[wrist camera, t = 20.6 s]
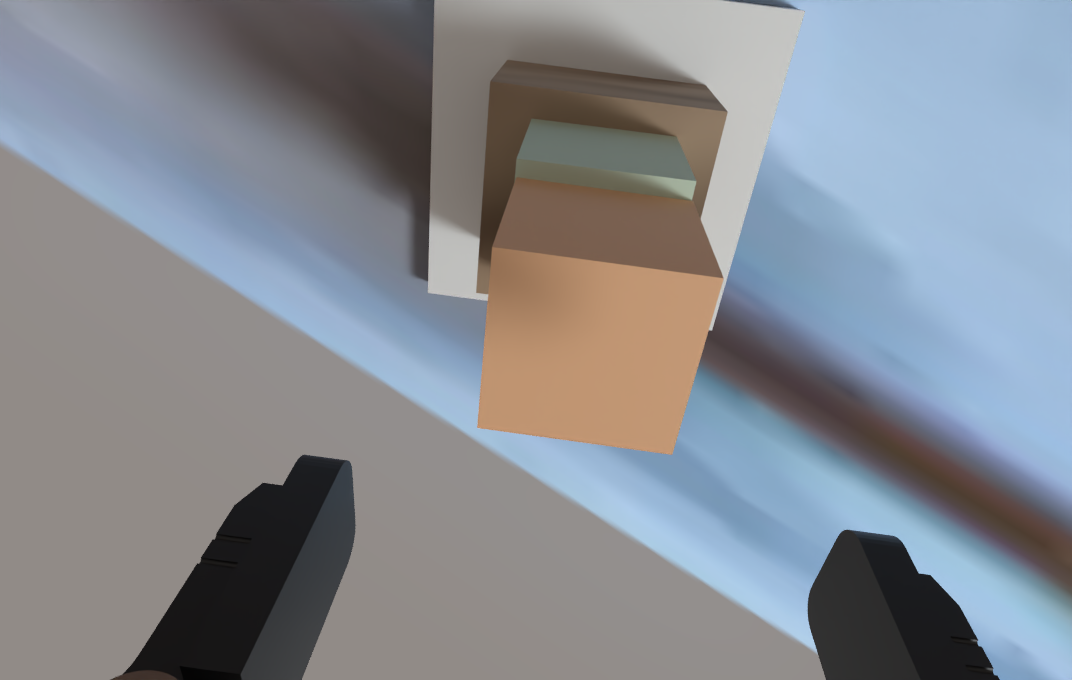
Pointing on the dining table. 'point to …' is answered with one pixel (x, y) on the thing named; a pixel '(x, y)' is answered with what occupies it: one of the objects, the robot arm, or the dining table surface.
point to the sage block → (605, 159)
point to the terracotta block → (595, 315)
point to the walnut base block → (592, 103)
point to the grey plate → (606, 46)
